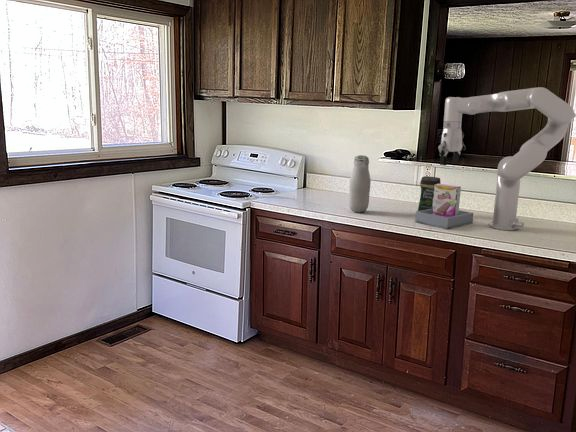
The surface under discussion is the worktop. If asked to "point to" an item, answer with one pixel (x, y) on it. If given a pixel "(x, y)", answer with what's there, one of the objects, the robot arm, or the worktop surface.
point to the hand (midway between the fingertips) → (449, 164)
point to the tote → (444, 219)
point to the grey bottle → (359, 185)
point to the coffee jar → (427, 192)
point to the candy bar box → (446, 200)
